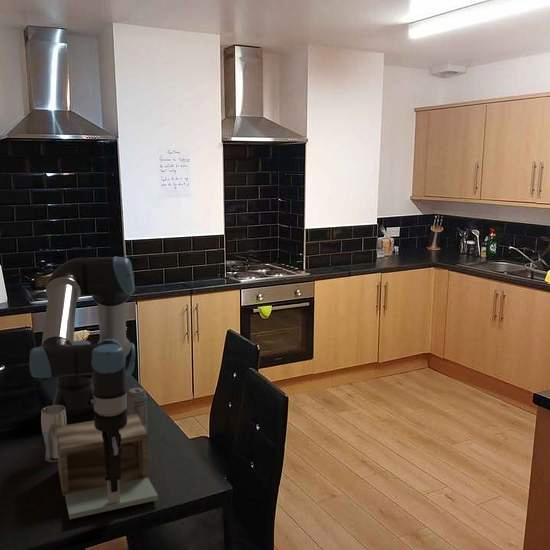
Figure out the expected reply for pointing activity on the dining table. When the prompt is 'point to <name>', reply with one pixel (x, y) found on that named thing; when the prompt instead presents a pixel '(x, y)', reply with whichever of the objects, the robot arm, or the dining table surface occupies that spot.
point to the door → (98, 498)
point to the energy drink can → (138, 404)
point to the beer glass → (52, 429)
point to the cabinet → (99, 455)
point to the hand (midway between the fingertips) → (113, 501)
